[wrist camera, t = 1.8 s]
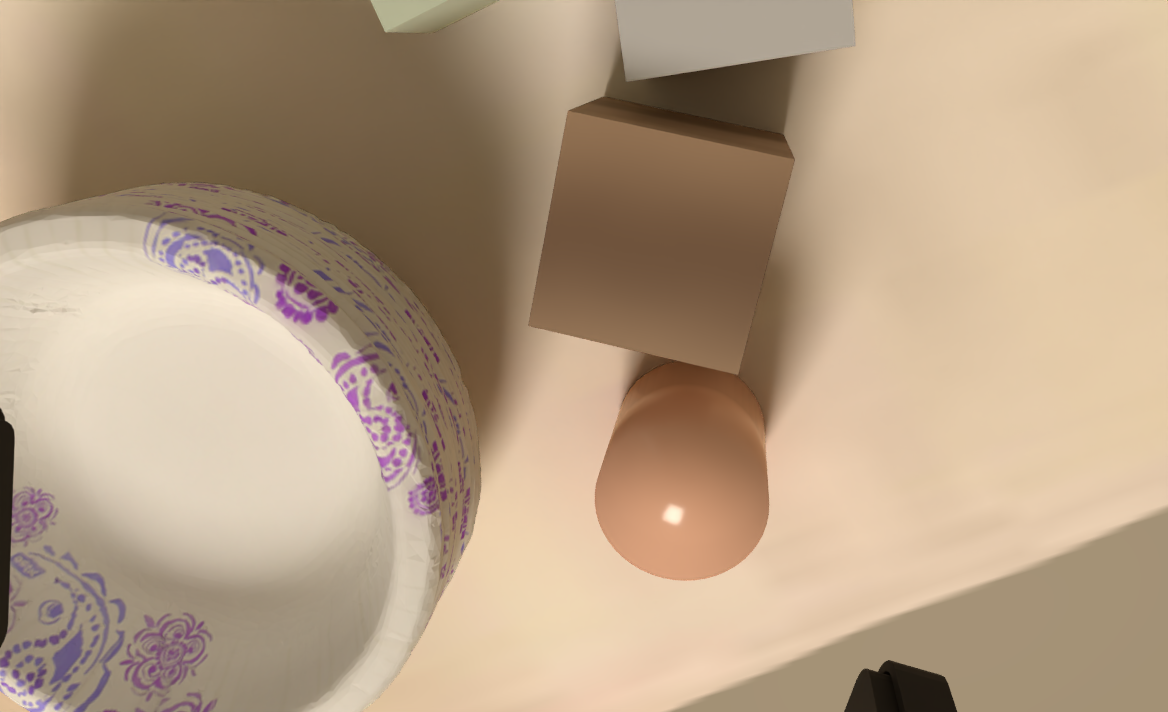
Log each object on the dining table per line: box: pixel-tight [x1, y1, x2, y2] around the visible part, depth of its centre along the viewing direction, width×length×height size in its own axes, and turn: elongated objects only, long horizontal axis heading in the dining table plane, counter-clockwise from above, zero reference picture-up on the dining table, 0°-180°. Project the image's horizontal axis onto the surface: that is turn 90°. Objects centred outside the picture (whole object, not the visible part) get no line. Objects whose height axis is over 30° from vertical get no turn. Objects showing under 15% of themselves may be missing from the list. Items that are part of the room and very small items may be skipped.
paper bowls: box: [0, 182, 481, 712], centre depth 28 cm, size 15×15×8 cm
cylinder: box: [595, 361, 769, 580], centre depth 27 cm, size 4×4×5 cm
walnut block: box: [528, 97, 795, 375], centre depth 25 cm, size 5×5×6 cm
